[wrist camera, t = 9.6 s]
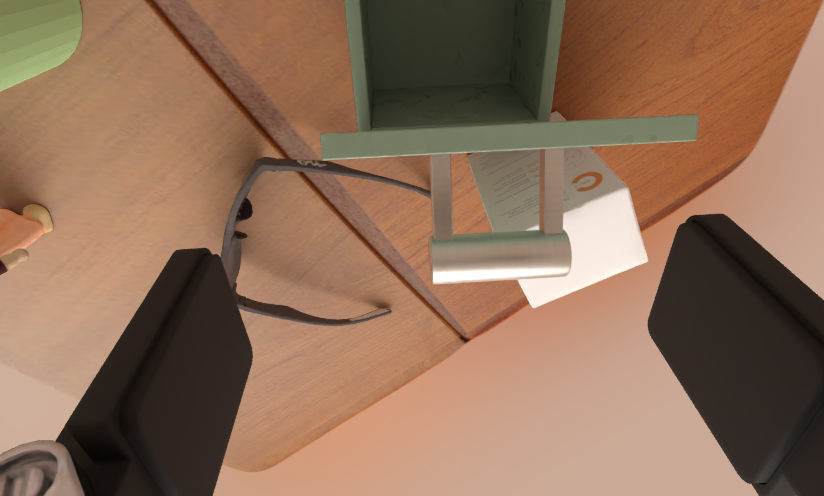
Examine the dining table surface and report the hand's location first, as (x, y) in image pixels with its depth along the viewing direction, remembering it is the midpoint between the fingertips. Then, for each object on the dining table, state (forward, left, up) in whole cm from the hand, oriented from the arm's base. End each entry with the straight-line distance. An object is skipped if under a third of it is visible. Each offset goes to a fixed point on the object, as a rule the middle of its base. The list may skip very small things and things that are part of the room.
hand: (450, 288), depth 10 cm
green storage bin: (-2, +3, -29) cm, 29 cm away
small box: (+11, +10, -29) cm, 32 cm away
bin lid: (+2, +3, -13) cm, 13 cm away
